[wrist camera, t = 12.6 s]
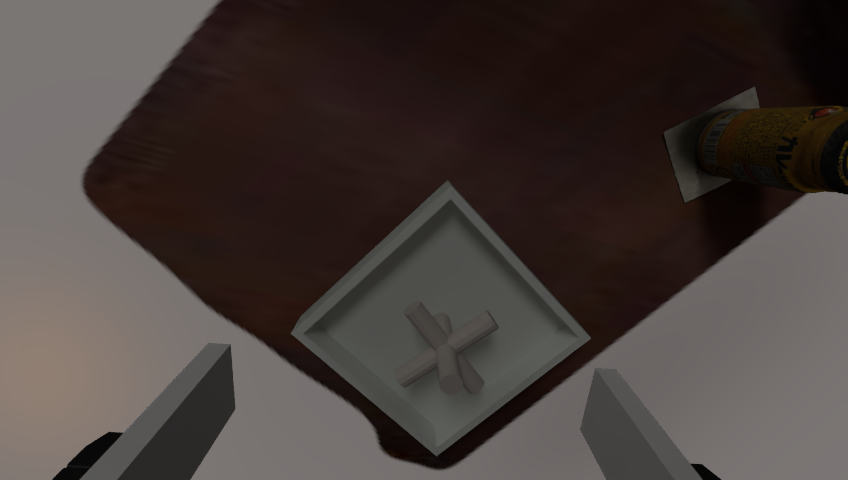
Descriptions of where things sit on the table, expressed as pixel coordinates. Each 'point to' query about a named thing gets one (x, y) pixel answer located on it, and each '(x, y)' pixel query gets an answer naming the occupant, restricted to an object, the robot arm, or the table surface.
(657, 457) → the robot arm
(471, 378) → the pipe connector
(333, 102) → the table surface
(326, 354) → the tray
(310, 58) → the table surface
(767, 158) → the condiment
